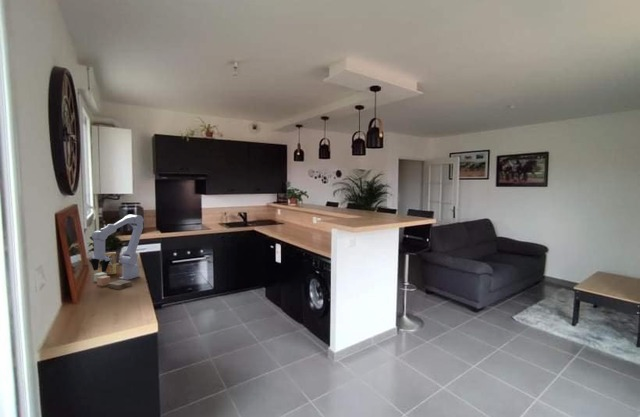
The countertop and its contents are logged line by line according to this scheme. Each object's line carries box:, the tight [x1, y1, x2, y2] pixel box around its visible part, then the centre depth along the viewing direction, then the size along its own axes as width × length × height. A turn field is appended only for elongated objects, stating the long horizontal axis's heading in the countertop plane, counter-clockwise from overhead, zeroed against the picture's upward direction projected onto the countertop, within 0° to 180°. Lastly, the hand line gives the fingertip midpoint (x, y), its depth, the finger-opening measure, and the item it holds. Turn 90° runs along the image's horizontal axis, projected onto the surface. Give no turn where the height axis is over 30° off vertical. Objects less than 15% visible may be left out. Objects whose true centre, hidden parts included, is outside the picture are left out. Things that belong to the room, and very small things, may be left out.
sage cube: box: [93, 271, 108, 283], centre depth 200 cm, size 5×5×5 cm
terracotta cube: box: [96, 275, 111, 287], centre depth 193 cm, size 5×5×5 cm
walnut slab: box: [107, 279, 133, 290], centre depth 191 cm, size 9×9×3 cm
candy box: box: [100, 251, 117, 276], centre depth 216 cm, size 9×4×15 cm, turn 129°
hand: (99, 270), depth 190 cm, fingers open, 7 cm apart
